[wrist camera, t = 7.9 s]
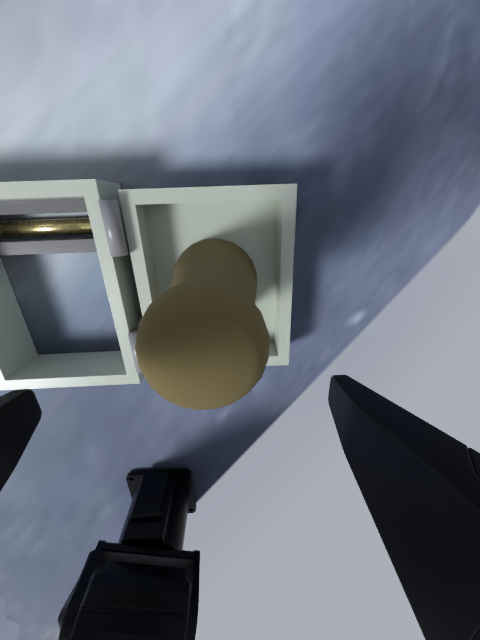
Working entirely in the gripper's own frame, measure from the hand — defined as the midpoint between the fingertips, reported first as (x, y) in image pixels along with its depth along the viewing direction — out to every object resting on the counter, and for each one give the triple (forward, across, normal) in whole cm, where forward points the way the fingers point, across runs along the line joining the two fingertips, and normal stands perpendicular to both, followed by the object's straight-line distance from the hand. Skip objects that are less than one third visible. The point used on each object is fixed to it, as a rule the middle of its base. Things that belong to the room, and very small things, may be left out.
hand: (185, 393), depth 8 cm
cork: (+12, 0, 0) cm, 12 cm away
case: (+13, +10, 0) cm, 17 cm away
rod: (+12, +10, -4) cm, 17 cm away
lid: (+13, 0, 0) cm, 13 cm away
